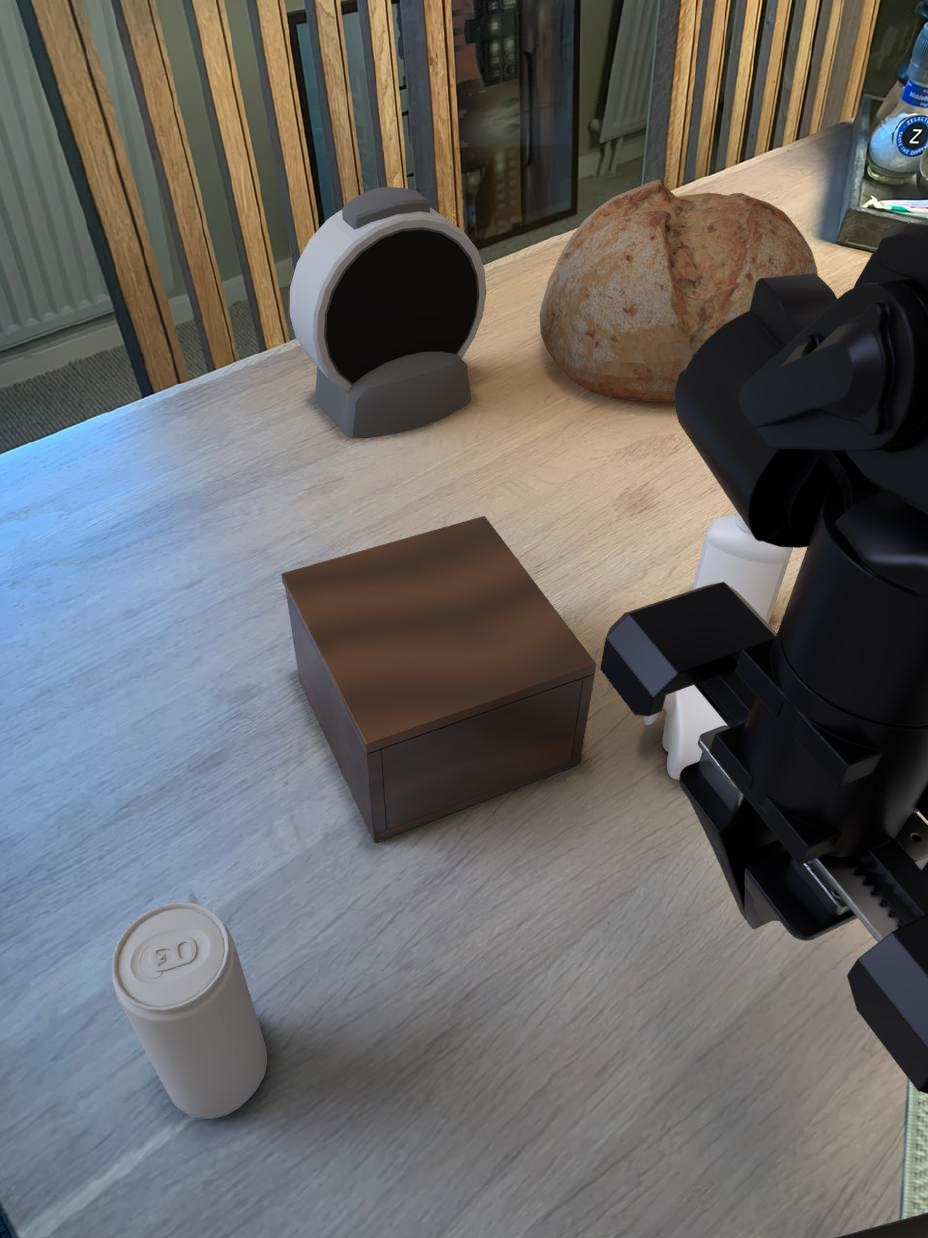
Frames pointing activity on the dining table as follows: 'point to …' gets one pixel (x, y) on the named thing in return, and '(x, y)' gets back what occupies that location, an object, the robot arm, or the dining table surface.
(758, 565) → the eye dropper bottle
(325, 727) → the box
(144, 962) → the beverage can
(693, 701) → the elephant figurine
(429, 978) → the dining table surface
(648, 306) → the bread
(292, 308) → the alarm clock
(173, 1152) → the dining table surface
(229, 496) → the dining table surface
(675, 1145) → the dining table surface
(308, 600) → the lid
